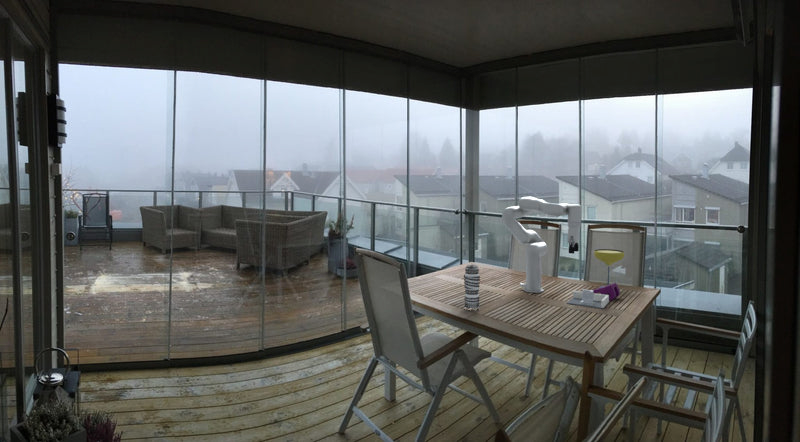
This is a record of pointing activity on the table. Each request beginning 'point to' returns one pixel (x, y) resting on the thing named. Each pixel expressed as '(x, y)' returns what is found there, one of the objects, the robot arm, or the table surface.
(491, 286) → the table surface
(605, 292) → the mounting bracket
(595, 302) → the tray
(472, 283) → the decorative candle
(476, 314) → the table surface
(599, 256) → the cocktail glass
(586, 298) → the angle bracket
